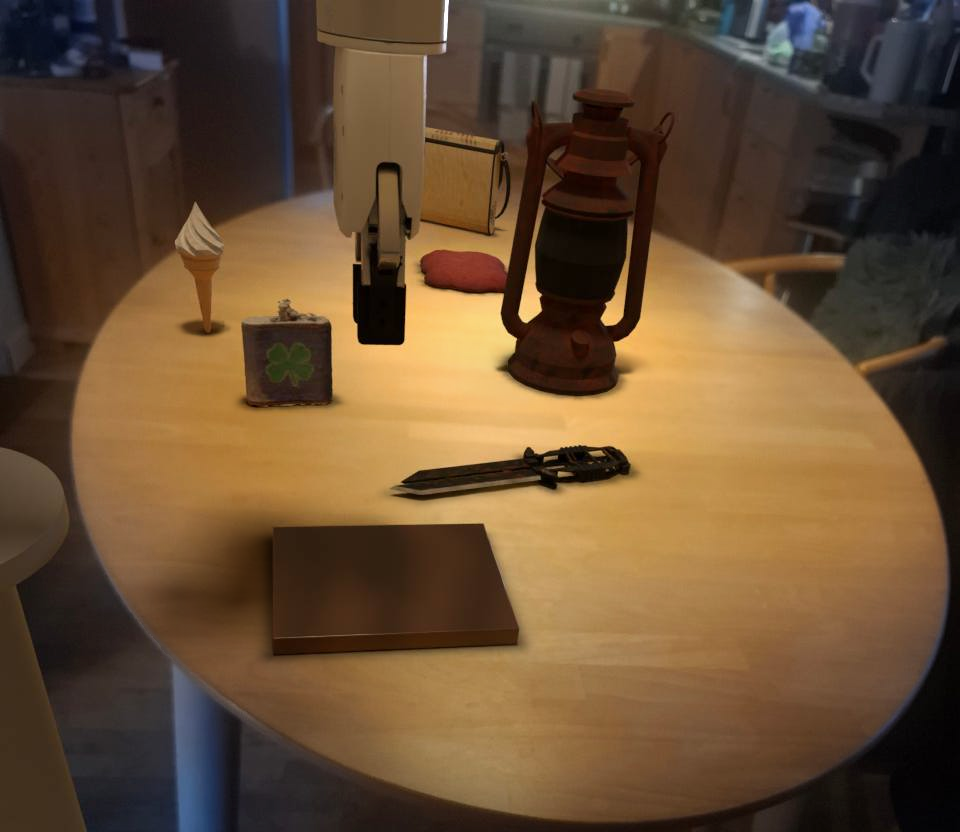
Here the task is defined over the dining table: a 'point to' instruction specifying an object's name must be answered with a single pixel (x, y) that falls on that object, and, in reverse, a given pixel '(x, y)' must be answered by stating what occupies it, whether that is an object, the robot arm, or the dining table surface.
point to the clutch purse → (463, 179)
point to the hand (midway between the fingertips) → (378, 330)
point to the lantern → (581, 243)
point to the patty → (464, 271)
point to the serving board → (387, 588)
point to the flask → (287, 358)
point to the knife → (520, 471)
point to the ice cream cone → (200, 257)
